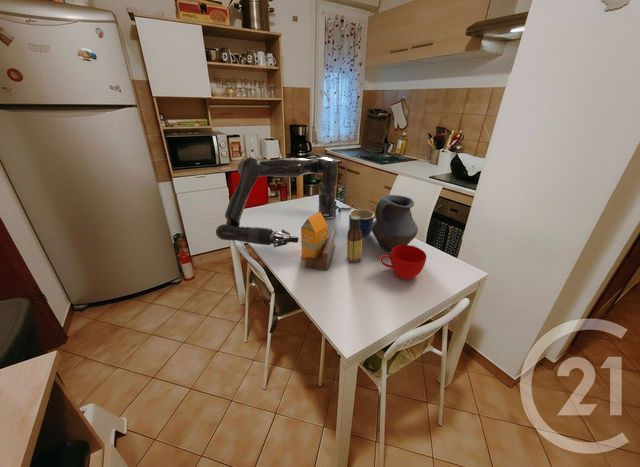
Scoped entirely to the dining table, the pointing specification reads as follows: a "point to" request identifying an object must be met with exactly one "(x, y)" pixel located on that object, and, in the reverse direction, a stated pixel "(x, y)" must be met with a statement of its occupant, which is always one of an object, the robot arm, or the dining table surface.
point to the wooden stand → (327, 252)
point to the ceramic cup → (406, 261)
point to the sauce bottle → (354, 240)
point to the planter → (363, 220)
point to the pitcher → (394, 222)
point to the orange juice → (314, 236)
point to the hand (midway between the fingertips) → (298, 239)
